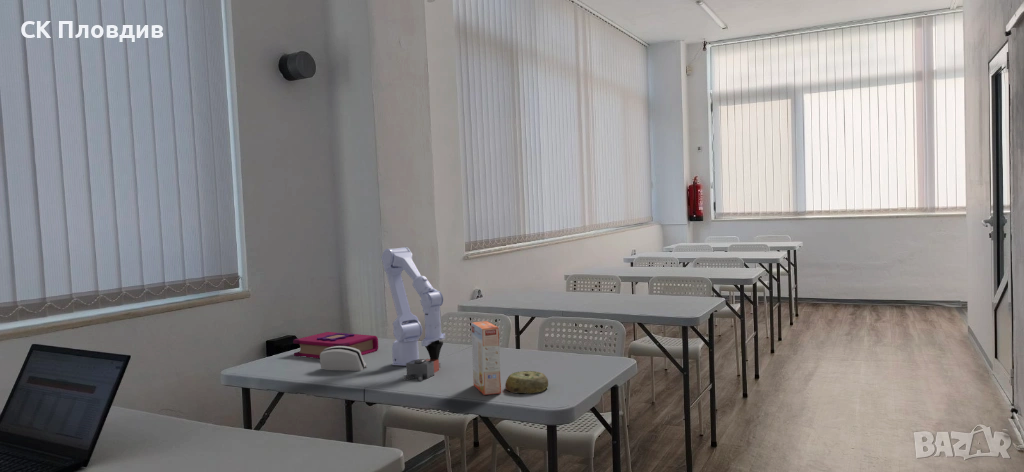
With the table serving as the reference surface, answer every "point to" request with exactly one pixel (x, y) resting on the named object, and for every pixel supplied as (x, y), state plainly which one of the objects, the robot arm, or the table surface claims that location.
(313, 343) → the book
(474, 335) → the cracker box
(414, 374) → the coupler
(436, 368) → the red notched block
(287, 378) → the table surface
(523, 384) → the greenish tan ring
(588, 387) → the table surface
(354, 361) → the white napkin holder
